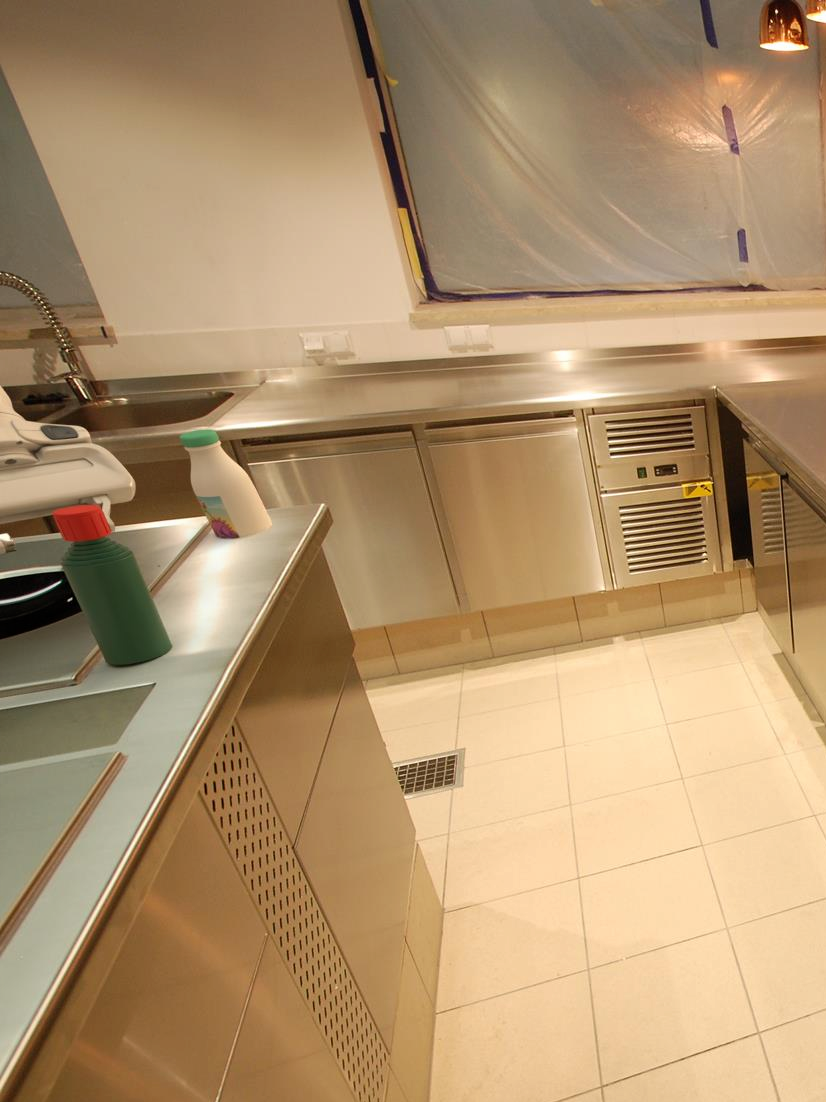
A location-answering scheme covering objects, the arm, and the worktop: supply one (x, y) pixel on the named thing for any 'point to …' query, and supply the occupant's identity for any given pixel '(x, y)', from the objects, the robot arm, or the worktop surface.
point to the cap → (81, 523)
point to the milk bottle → (223, 488)
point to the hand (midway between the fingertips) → (59, 540)
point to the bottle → (115, 601)
